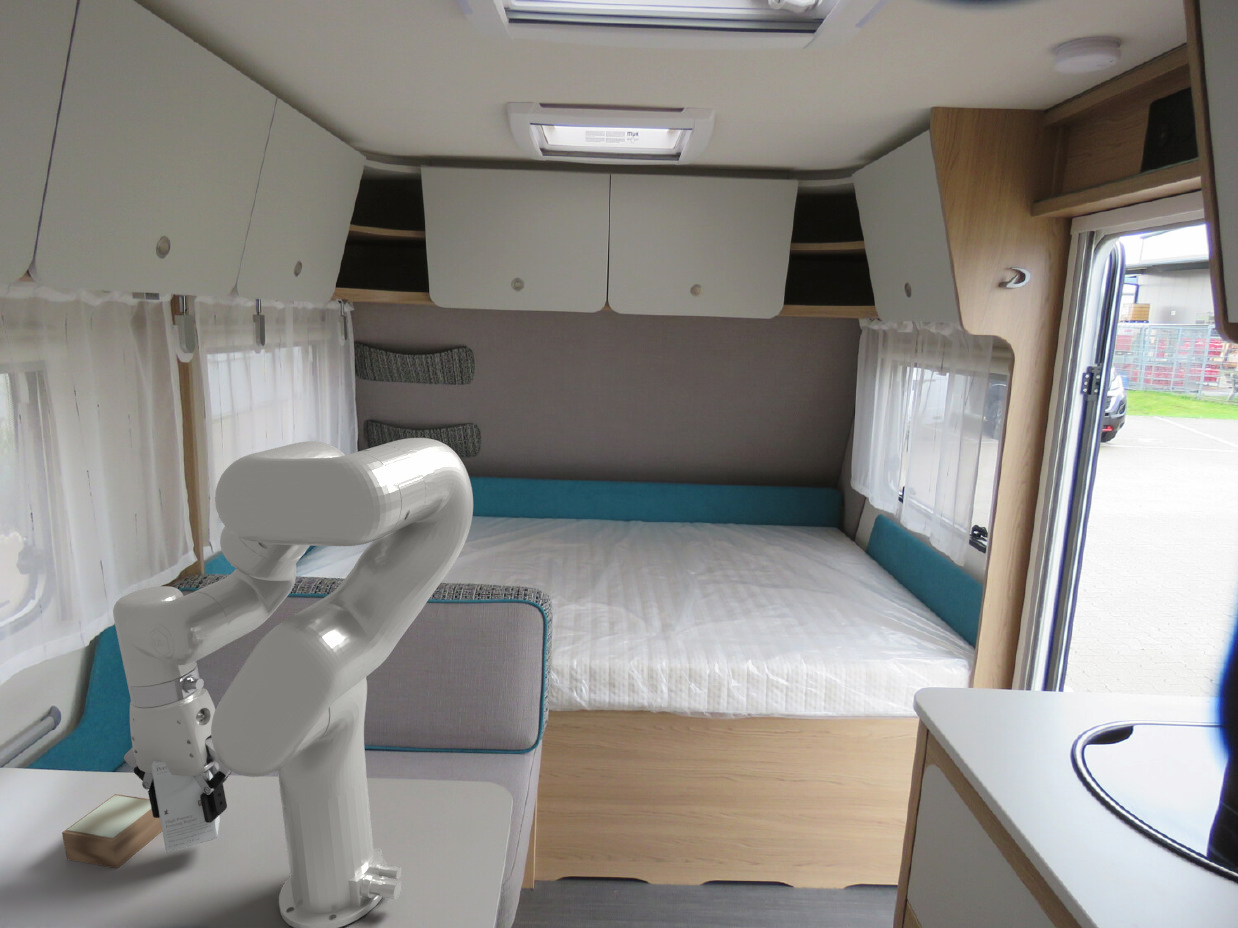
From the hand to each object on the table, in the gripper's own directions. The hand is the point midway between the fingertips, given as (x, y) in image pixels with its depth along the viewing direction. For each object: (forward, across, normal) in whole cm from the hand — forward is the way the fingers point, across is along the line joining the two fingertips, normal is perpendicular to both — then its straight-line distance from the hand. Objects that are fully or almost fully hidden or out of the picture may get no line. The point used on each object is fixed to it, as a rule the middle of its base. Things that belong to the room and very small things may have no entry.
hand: (190, 812), depth 96 cm
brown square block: (+6, +13, 0) cm, 14 cm away
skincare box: (+4, 0, 0) cm, 4 cm away
